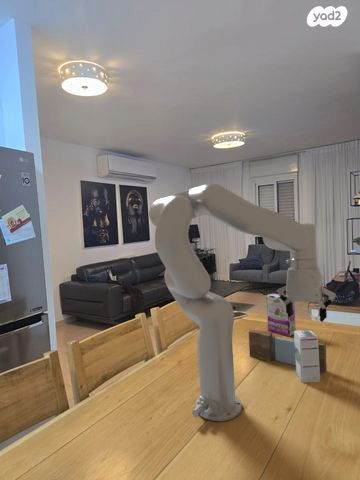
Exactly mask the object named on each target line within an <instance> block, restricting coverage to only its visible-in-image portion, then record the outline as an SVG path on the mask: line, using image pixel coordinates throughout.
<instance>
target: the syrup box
mask: <svg viewBox="0 0 360 480" xmlns="http://www.w3.org/2000/svg"><path fill="white" fill-rule="evenodd" d="M293 341H294V342H295V361H296V365H295V374H296V375H297V377H298V378H299V379H300V381H301V382H302V383H316V382H318V383H319V382H321V375H320V374H321V373H320V368H319V349H318V341H319V336H318V334H315V333H314V332H313V331H312V330H311V329H299V330H296V331H294V335H293Z"/></svg>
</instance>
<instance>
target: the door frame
mask: <svg viewBox="0 0 360 480" xmlns="http://www.w3.org/2000/svg"><path fill="white" fill-rule="evenodd" d="M272 335H273V332H271V331H265V330H264V331H260V330H255V329H250V330H248V345H249V347H248V348H249V357H252V358H257V359H260V360H262V361H265V362H269V363H270V362H272V360H273V346H272ZM318 349H319V368H320V374H322V375H326V373H327V369H328V368H327V367H328V366H327V343H326V342H323V341H319V340H318Z"/></svg>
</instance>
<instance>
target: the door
mask: <svg viewBox="0 0 360 480" xmlns="http://www.w3.org/2000/svg"><path fill="white" fill-rule="evenodd" d="M272 346H273V359H272V360H273V361H277V362H281V363H286V364H290V365H293V366H296V361H295V342H294V339H293V340H292V339H287V338H282V337H278V336H277V337H275V335H273V334H272Z"/></svg>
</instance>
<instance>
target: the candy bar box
mask: <svg viewBox="0 0 360 480" xmlns="http://www.w3.org/2000/svg"><path fill="white" fill-rule="evenodd" d="M284 295H285V294H284ZM285 296H286V295H285ZM286 297H287V296H286ZM291 302H292V303H293V315H292V316H291V317H288V313H286V304H284V302H283V301H282V299H281V298H280V296H279V294H278V293H273V292H272V293H270V294H267V295H266V309H267V310H266V311H267V330H268V331H267V332H270V333H274V334H278V335H281V336H284V337H288V338H290V337H292V336H293V337H294V331H297V329H296V308H295V307H296V306H295V301H293V300H292V301H291Z"/></svg>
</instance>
